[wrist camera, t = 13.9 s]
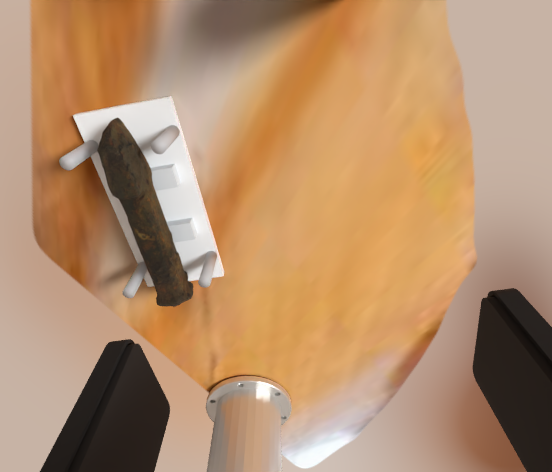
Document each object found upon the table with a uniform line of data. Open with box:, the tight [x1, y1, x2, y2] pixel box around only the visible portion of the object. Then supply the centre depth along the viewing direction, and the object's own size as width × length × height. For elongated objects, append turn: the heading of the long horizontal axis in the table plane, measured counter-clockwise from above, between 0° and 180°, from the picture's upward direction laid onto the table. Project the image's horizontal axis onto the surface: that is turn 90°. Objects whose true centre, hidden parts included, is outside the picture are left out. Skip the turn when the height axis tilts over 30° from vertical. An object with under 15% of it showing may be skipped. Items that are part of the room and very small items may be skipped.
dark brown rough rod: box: [97, 118, 193, 307], centre depth 35 cm, size 19×4×5 cm, turn 7°
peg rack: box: [59, 96, 224, 298], centre depth 36 cm, size 20×9×6 cm, turn 10°
